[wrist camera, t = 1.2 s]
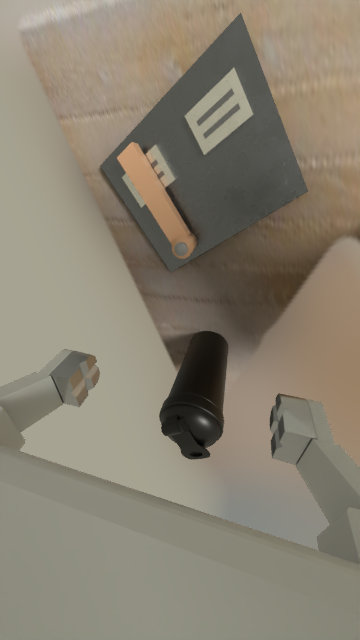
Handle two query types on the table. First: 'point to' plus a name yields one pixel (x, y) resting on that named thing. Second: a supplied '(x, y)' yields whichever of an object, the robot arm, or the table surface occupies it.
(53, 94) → the table surface
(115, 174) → the label panel
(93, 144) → the table surface
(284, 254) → the table surface
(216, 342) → the water bottle
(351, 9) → the table surface
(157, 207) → the swing bar
